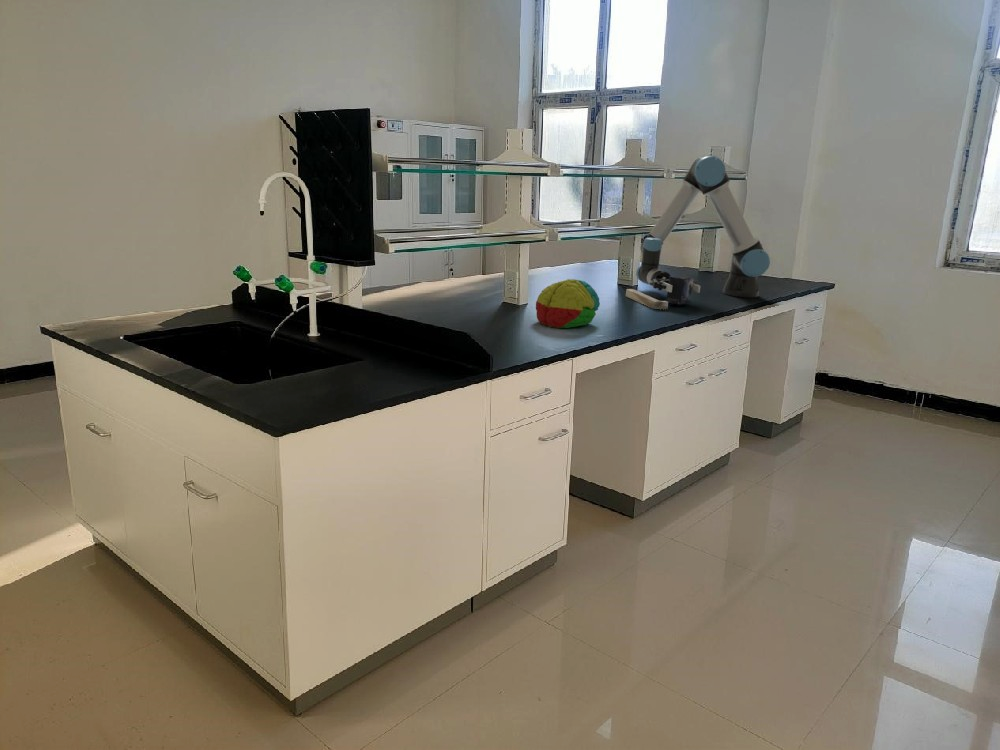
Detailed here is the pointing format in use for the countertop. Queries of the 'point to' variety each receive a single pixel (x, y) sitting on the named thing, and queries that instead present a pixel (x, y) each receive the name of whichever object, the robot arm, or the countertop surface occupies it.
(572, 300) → the brain model
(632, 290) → the bar
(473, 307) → the countertop surface
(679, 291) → the small box
